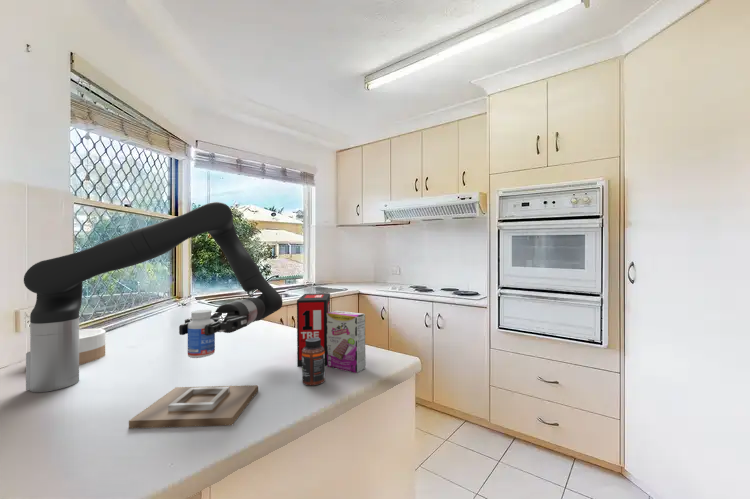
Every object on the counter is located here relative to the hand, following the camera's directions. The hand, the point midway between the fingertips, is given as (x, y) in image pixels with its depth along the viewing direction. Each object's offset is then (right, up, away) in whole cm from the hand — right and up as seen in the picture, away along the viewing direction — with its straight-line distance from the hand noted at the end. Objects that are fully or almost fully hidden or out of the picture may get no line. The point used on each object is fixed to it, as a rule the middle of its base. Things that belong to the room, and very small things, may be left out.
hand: (193, 330), depth 70 cm
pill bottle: (0, -6, +3) cm, 7 cm away
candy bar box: (+31, -18, +26) cm, 44 cm away
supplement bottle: (+23, -18, +16) cm, 33 cm away
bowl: (-61, -19, +37) cm, 74 cm away
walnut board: (0, -18, +2) cm, 18 cm away
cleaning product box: (+20, -18, +36) cm, 45 cm away
